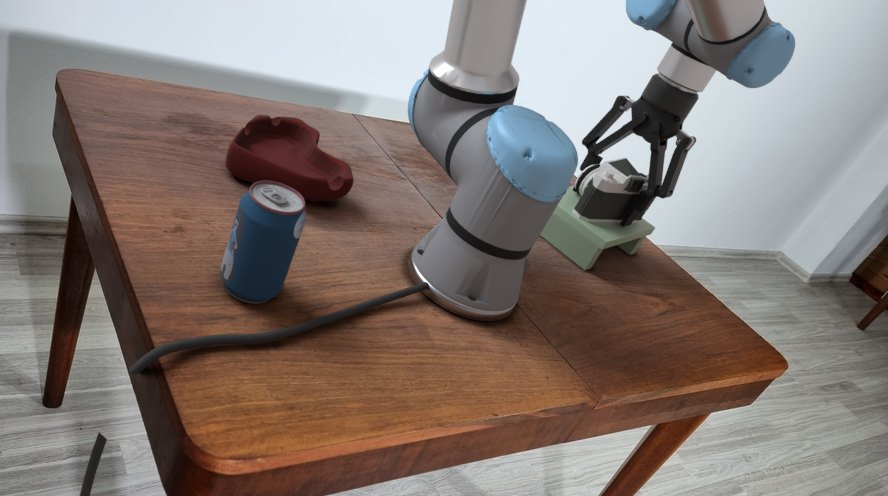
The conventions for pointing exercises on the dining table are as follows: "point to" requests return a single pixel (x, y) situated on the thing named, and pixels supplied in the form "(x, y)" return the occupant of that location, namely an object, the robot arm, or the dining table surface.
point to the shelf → (589, 233)
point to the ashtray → (288, 159)
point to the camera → (609, 191)
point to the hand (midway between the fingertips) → (601, 207)
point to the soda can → (262, 241)
